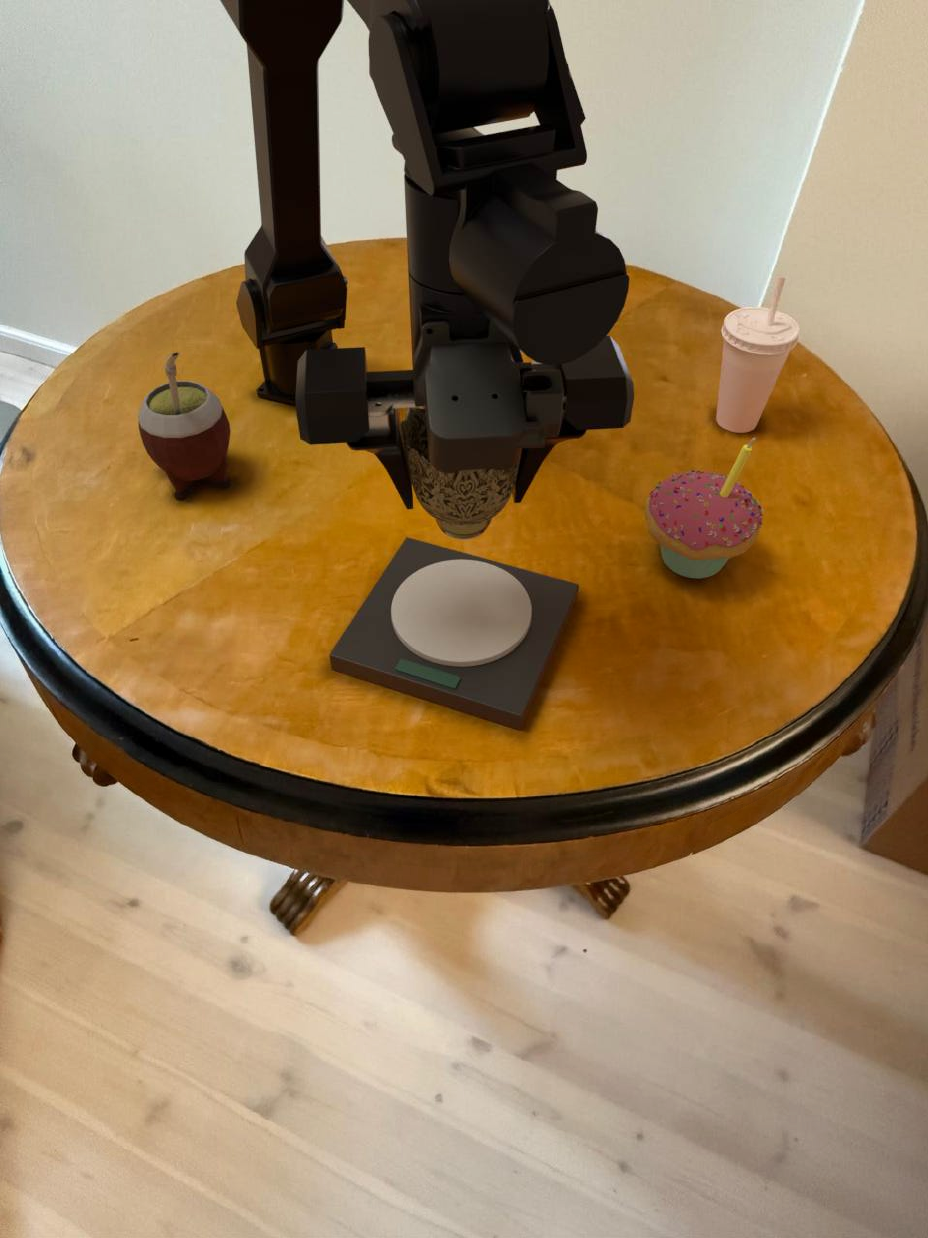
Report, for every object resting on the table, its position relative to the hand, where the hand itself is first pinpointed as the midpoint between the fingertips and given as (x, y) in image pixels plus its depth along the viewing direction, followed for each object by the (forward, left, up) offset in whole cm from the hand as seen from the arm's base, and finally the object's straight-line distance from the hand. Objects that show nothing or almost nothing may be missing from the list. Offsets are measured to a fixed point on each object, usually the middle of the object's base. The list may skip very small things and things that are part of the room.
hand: (462, 502), depth 58 cm
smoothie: (+14, +33, -11) cm, 38 cm away
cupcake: (+14, +13, -11) cm, 22 cm away
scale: (0, -1, -11) cm, 11 cm away
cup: (0, 0, -2) cm, 2 cm away
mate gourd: (-27, +7, -11) cm, 30 cm away
